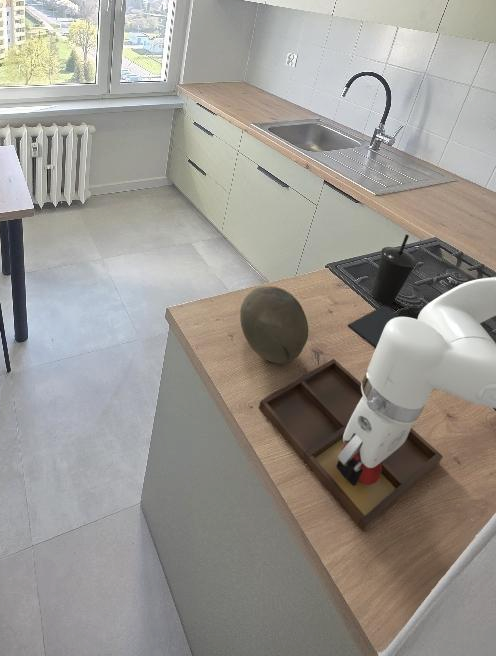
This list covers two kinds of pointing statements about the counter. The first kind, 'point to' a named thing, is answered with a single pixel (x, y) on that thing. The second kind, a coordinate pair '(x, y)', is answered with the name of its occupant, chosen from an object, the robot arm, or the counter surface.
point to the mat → (373, 324)
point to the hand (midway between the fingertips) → (359, 465)
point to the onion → (368, 472)
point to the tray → (327, 441)
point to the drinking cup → (392, 273)
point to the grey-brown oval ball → (274, 324)
